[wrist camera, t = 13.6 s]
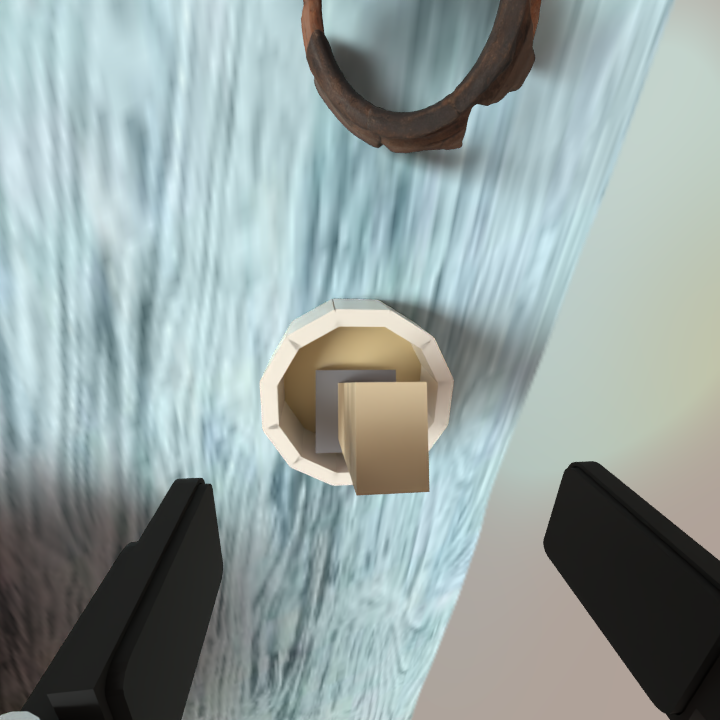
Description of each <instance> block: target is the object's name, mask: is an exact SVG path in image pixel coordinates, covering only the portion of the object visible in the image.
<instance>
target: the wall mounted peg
mask: <svg viewBox="0 0 720 720" xmlns="http://www.w3.org/2000/svg"><path fill="white" fill-rule="evenodd" d="M341 452H343V455H344V458H345V461H346V464H347V467H348V470H349V473H350V476H351V480H352V483H353V486H354V489H355V492H356V495H373V494H394V493H414V492H429V455H428V411H427V382H396V370H316V453H341Z"/></svg>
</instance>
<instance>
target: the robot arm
mask: <svg viewBox="0 0 720 720" xmlns="http://www.w3.org/2000/svg"><path fill="white" fill-rule="evenodd" d="M543 544H544V549H545V552H546V554H547V556H548V557H549V559H550V560H551V561H552V563H553V564H554V566H555V567H556V568H557V570H558V571H559V573H560V574H561V575H562V577H563V578H564V579H565V581H566V582H567V584H568V585H569V587H570V588H571V589H572V591H573V592H574V594H575V595H576V596H577V598H578V599H579V600H580V602H581V603H582V605H583V606H584V608H585V609H586V610H587V612H588V613H589V615H590V616H591V617H592V619H593V620H594V621H595V623H596V624H597V626H598V627H599V628H600V630H601V631H602V632H603V634H604V635H605V637H606V638H607V640H608V641H609V642H610V644H611V645H612V647H613V648H614V649H615V651H616V652H617V653H618V655H619V656H620V658H621V659H622V661H623V662H624V663H625V665H626V666H627V668H628V669H629V670H630V672H631V673H632V675H633V676H634V677H635V679H636V680H637V681H638V683H639V684H640V686H641V687H642V688H643V690H644V691H645V693H646V694H647V696H648V697H649V698H650V700H651V701H652V702H653V703H654V705H655V706H656V707H657V708H658V709H659V710H660V711H662V712H663V713H666V715H667V716H668V718H669V719H670V720H720V561H719V560H718V559H717V558H715V557H714V556H713V555H712V554H711V553H709V552H708V551H707V550H706V549H704V548H703V547H702V546H701V545H699V544H698V543H697V542H696V541H694V540H693V539H692V538H691V537H689V536H688V535H687V534H686V533H685V532H683V531H682V530H681V529H680V528H678V527H677V526H676V525H674V524H673V523H672V522H671V521H670V520H668V519H667V518H666V517H665V516H663V515H662V514H661V513H660V512H659V511H657V510H656V509H655V508H654V507H652V506H651V505H650V504H649V503H648V502H646V501H645V500H644V499H643V498H641V497H640V496H639V495H637V494H636V493H635V492H634V491H633V490H631V489H630V488H629V487H628V486H626V485H625V484H624V483H623V482H621V481H620V480H619V479H618V478H617V477H615V476H614V475H613V474H612V473H610V472H609V471H608V470H607V469H605V468H604V467H603V466H602V465H600V464H599V463H597V462H593V461H589V462H574V463H571V464H570V465H569V467H568V468H567V469H566V470H565V471H564V474H563V477H562V480H561V484H560V487H559V490H558V494H557V497H556V500H555V504H554V507H553V511H552V514H551V517H550V521H549V524H548V527H547V530H546V534H545V537H544V541H543ZM222 573H223V561H222V553H221V546H220V539H219V532H218V525H217V517H216V510H215V503H214V496H213V489H212V485H211V484H205V482H204V480H203V478H187V479H177V480H175V481H174V483H173V484H172V486H171V487H170V489H169V491H168V492H167V494H166V496H165V498H164V499H163V501H162V503H161V504H160V506H159V508H158V509H157V511H156V513H155V514H154V516H153V518H152V519H151V521H150V523H149V524H148V526H147V528H146V529H145V531H144V533H143V534H142V536H141V538H140V539H139V541H138V542H131V543H129V544H128V545H127V546H126V547H125V548H124V549H123V551H122V552H121V553H120V555H119V556H118V558H117V559H116V561H115V563H114V564H113V566H112V567H111V569H110V570H109V572H108V574H107V575H106V577H105V578H104V580H103V582H102V583H101V585H100V586H99V588H98V589H97V591H96V593H95V594H94V596H93V597H92V599H91V601H90V602H89V604H88V605H87V607H86V608H85V610H84V612H83V613H82V615H81V616H80V618H79V620H78V621H77V623H76V624H75V626H74V627H73V629H72V631H71V632H70V634H69V635H68V637H67V639H66V640H65V642H64V643H63V645H62V646H61V648H60V650H59V651H58V653H57V654H56V656H55V657H54V659H53V661H52V662H51V664H50V665H49V667H48V669H47V670H46V672H45V673H44V675H43V676H42V678H41V680H40V681H39V683H38V684H37V686H36V688H35V689H34V691H33V692H32V694H31V695H30V697H29V699H28V700H27V702H26V703H25V705H24V707H23V708H22V710H21V711H20V712H9V713H6V714H3V715H0V720H181V718H182V715H183V712H184V708H185V705H186V701H187V698H188V694H189V691H190V687H191V684H192V680H193V677H194V673H195V670H196V666H197V663H198V659H199V656H200V652H201V649H202V646H203V642H204V639H205V635H206V632H207V628H208V625H209V621H210V618H211V614H212V611H213V607H214V604H215V600H216V597H217V593H218V590H219V586H220V583H221V579H222Z"/></svg>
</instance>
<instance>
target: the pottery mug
mask: <svg viewBox="0 0 720 720" xmlns="http://www.w3.org/2000/svg"><path fill="white" fill-rule="evenodd" d="M303 2H304V7H303V11H302V17H301V23H302V33H303V40H304V46H305V51H306V58H307V61H308V64H309V67H310V70H311V72H312V74H313V75H314V83H315V86H316V89H317V91H318V93H319V95H320V96H321V98H322V99H323V101H324V102H325V103H326V105H327V106H328V108H329V109H330V110H331V111H332V113H333V114H334V115H335V116H336V118H337V119H338V120H339V121H340V122H341V123H342V124H343V125H344V126H345V127H346V128H347V129H348V130H349V131H350V132H351V133H353V134H354V135H355V136H357V137H358V138H360V139H361V140H363V141H364V142H366V143H368V144H369V145H371V146H373V147H376V148H379V147H381V146H382V145H385V146H386V147H387V148H388V149H389V150H390V151H392V152H395V153H410V152H419V151H423V150H440V149H445V150H450V149H456V148H460V147H461V146H462V140H463V138H464V135H465V132H466V127H467V122H468V117H469V114H470V112H471V109H472V107H473V106H474V105H476V104H481V105H485V106H489V105H490V104H493V103H497V102H499V101H500V100H501V99H503V98H504V97H505V96H506V94H507V93H509V92H511V91H516V90H518V89H519V88H520V87H521V86H522V84H523V83H524V81H525V79H526V77H527V75H528V74H529V72H530V70H531V68H532V66H533V64H534V61H535V54H534V50H533V47H532V46H533V39H534V35H535V31H536V28H537V24H538V20H539V12H540V6H541V0H500V4H499V8H498V12H497V16H496V19H495V22H494V26H493V29H492V31H491V34H490V36H489V38H488V41H487V43H486V45H485V47H484V49H483V51H482V52H481V54H480V56H479V58H478V60H477V62H476V63H475V65H474V66H473V68H472V69H471V71H470V72H469V73H468V74H467V76H466V77H465V78H464V79H463V81H462V82H461V83H460V84H459V85H458V86H457V87H456V89H455V91H454V92H453V93H451V94H449V95H447V96H446V97H445V98H444V99H442V100H441V101H439V102H437V103H436V104H434V105H432V106H429V107H427V108H425V109H422V110H418V111H414V112H392V111H387V110H385V109H382V108H380V107H376V106H374V105H373V104H371V103H370V102H368V101H367V100H365V99H364V98H363V97H362V96H360V95H359V94H358V93H357V92H356V91H355V90H354V89H353V88H352V87H351V85H350V84H349V83H348V82H347V80H346V79H345V77H344V75H343V73H342V72H341V70H340V68H339V66H338V64H337V62H336V60H335V58H334V56H333V53H332V50H331V47H330V45H329V42H328V40H327V38H326V36H325V35H324V27H323V19H322V0H303Z"/></svg>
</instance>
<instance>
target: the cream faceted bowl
mask: <svg viewBox="0 0 720 720" xmlns="http://www.w3.org/2000/svg"><path fill="white" fill-rule="evenodd" d="M316 370H396V382H427V411H428V452H429V450H430V449H431V448H432V446H433V445H434V444H435V442H436V441H437V439H438V438H439V437H440V435H441V434H442V433H443V431H444V430H445V429H446V427H447V426H448V422H449V415H450V407H451V399H452V392H453V384H454V379H453V377H452V375H451V372H450V370H449V368H448V366H447V364H446V362H445V360H444V357H443V355H442V353H441V351H440V349H439V347H438V345H437V342H436V340H435V338H434V337H433V336H432V335H430V334H429V333H428V332H426V331H425V330H424V329H422V328H421V327H420V326H418V325H417V324H416V323H414V322H413V321H411V320H410V319H408V318H407V317H405V316H403V315H402V314H400V313H399V312H397V311H395V310H394V309H392V308H391V307H389V306H387V305H386V304H384V303H383V302H381V301H380V300H376V299H333V301H332V299H331V300H329V301H327V302H325V303H323V304H322V305H320V306H318V307H316V308H314V309H313V310H311V311H309V312H307V313H305V314H304V315H302V316H300V317H298V318H296V319H295V320H293V321H292V322H291V323H290V325H289V327H288V329H287V330H286V332H285V334H284V336H283V337H282V339H281V341H280V343H279V344H278V346H277V348H276V350H275V351H274V353H273V355H272V357H271V358H270V361H269V363H268V365H267V367H266V369H265V371H264V374H263V376H262V378H261V380H260V396H261V412H262V428H263V431H264V433H265V434H266V435H267V437H268V438H269V439H270V441H271V442H272V443H273V445H274V446H275V447H276V449H277V450H278V451H279V453H280V454H281V455H282V457H283V458H284V459H285V461H286V462H287V463H288V465H289V466H291V468H293V469H296V470H298V471H300V472H303V473H305V474H307V475H309V476H312V477H314V478H316V479H319V480H321V481H323V482H326V483H328V484H330V485H333V486H336V485H353V483H352V480H351V476H350V473H349V470H348V467H347V464H346V461H345V458H344V455H343V452H341V453H316Z"/></svg>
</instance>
